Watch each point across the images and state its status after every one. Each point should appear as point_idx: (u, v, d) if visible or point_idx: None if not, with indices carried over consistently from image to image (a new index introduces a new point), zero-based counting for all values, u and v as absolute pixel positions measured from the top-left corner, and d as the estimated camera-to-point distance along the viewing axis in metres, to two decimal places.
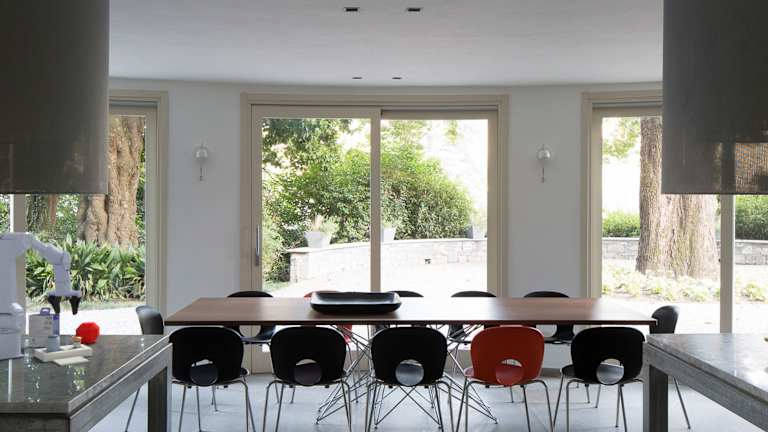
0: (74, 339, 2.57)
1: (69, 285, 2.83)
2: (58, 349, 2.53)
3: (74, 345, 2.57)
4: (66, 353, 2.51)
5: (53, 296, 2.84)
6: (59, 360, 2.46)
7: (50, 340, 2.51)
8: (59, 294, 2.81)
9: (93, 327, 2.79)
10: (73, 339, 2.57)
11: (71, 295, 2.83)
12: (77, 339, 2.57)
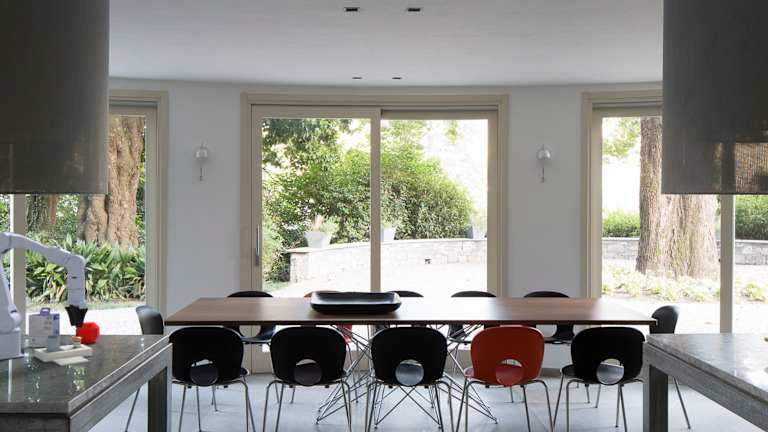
0: (74, 339, 2.57)
1: (78, 294, 2.56)
2: (58, 349, 2.53)
3: (74, 345, 2.57)
4: (66, 353, 2.51)
5: (70, 305, 2.61)
6: (59, 360, 2.46)
7: (50, 340, 2.51)
8: (67, 302, 2.57)
9: (93, 327, 2.79)
10: (73, 339, 2.57)
11: (78, 306, 2.56)
12: (77, 339, 2.57)
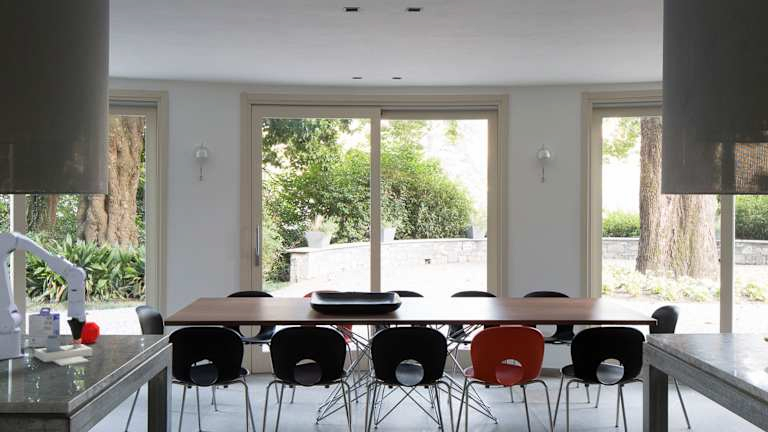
0: (74, 341, 2.57)
1: (78, 307, 2.56)
2: (58, 349, 2.53)
3: (74, 347, 2.57)
4: (66, 353, 2.51)
5: None
6: (59, 360, 2.46)
7: (50, 340, 2.51)
8: (67, 315, 2.57)
9: (93, 327, 2.79)
10: (73, 341, 2.57)
11: (78, 318, 2.56)
12: (77, 341, 2.57)
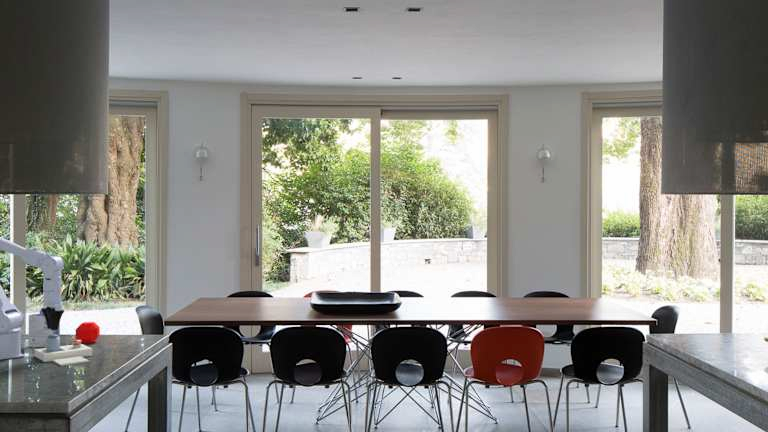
0: (74, 342, 2.57)
1: (54, 296, 2.51)
2: (58, 349, 2.53)
3: (74, 348, 2.57)
4: (66, 353, 2.51)
5: None
6: (59, 360, 2.46)
7: (50, 340, 2.51)
8: (43, 304, 2.51)
9: (93, 327, 2.79)
10: (73, 342, 2.57)
11: (54, 308, 2.51)
12: (77, 342, 2.57)
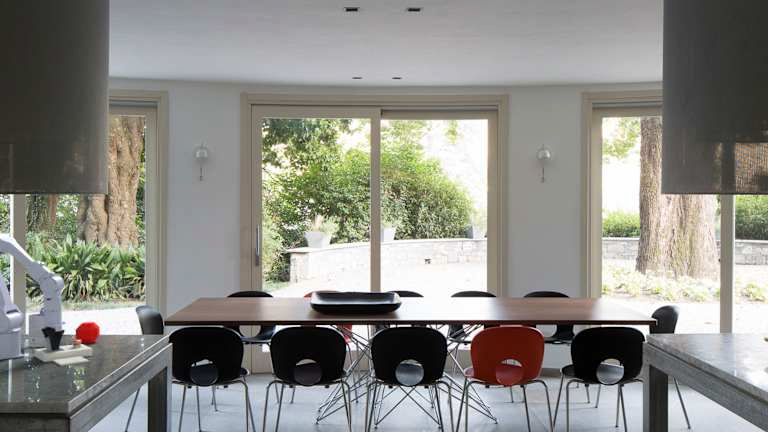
0: (74, 342, 2.57)
1: (54, 316, 2.51)
2: None
3: (74, 348, 2.57)
4: (66, 353, 2.51)
5: (47, 326, 2.56)
6: (59, 360, 2.46)
7: None
8: (43, 324, 2.52)
9: (93, 327, 2.79)
10: (73, 342, 2.57)
11: (54, 328, 2.51)
12: (77, 342, 2.57)
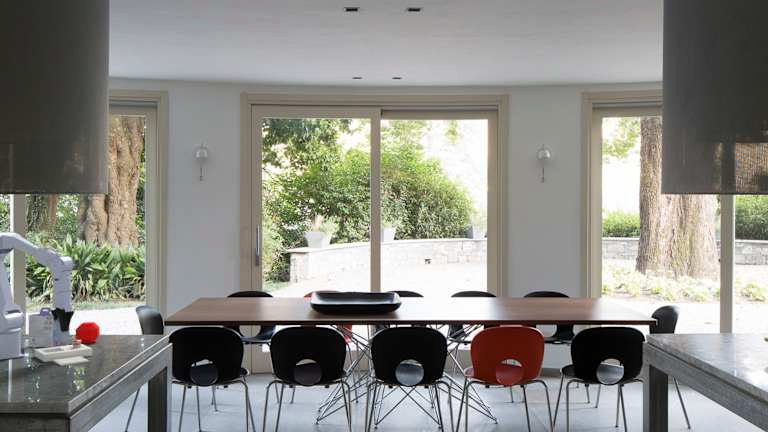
0: (74, 342, 2.57)
1: (64, 297, 2.47)
2: (67, 332, 2.49)
3: (74, 348, 2.57)
4: (66, 353, 2.51)
5: (56, 308, 2.52)
6: (59, 360, 2.46)
7: (59, 323, 2.47)
8: (53, 305, 2.48)
9: (93, 327, 2.79)
10: (73, 342, 2.57)
11: (64, 309, 2.47)
12: (77, 342, 2.57)
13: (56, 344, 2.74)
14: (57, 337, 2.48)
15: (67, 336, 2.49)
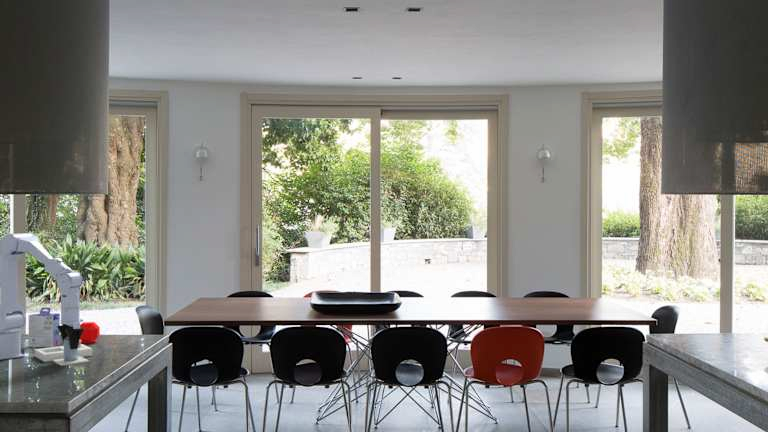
0: None
1: (72, 313, 2.44)
2: (76, 351, 2.46)
3: None
4: None
5: (64, 324, 2.49)
6: (59, 360, 2.46)
7: (67, 342, 2.44)
8: (61, 322, 2.44)
9: (93, 327, 2.79)
10: None
11: (72, 325, 2.43)
12: None
13: (56, 344, 2.74)
14: (65, 357, 2.44)
15: (75, 356, 2.46)
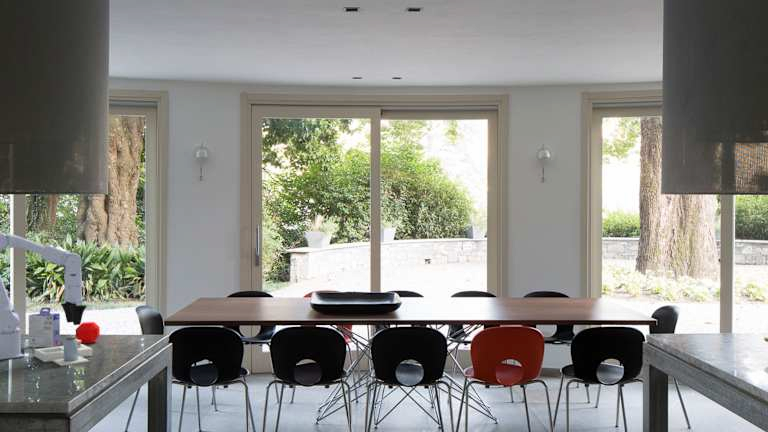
0: None
1: (75, 291, 2.60)
2: (75, 351, 2.46)
3: None
4: None
5: (67, 302, 2.65)
6: (59, 360, 2.46)
7: (67, 342, 2.44)
8: (64, 299, 2.61)
9: (93, 327, 2.79)
10: None
11: (75, 303, 2.60)
12: None
13: (56, 344, 2.74)
14: (65, 357, 2.44)
15: (75, 356, 2.45)
